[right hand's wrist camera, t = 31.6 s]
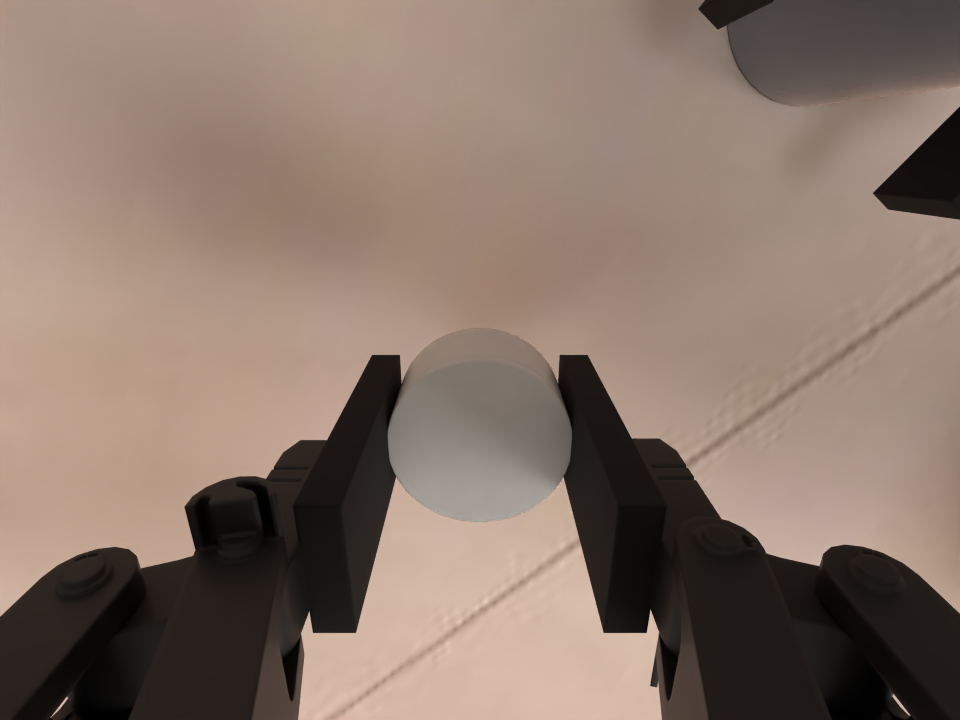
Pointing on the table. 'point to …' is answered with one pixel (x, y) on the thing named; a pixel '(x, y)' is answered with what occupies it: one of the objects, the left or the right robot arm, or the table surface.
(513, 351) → the cap
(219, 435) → the table surface
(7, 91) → the table surface
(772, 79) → the bottle
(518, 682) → the table surface
